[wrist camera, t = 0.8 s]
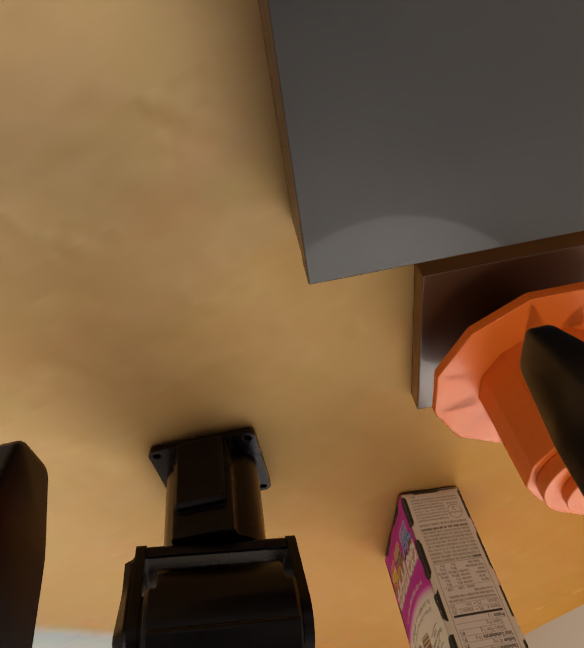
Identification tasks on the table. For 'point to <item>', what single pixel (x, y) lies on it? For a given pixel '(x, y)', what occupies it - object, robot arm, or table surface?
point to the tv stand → (426, 126)
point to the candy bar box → (446, 576)
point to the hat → (510, 389)
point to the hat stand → (481, 294)
